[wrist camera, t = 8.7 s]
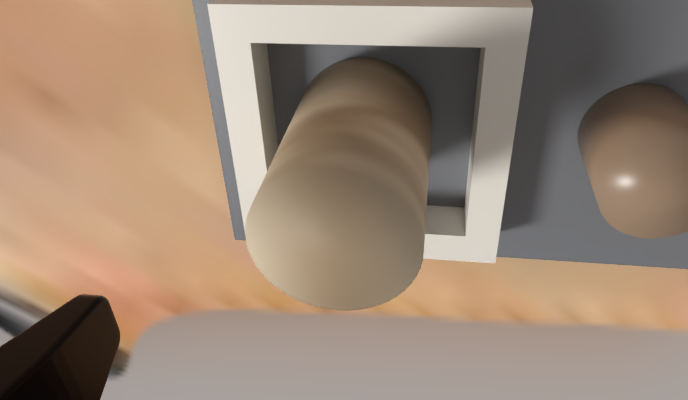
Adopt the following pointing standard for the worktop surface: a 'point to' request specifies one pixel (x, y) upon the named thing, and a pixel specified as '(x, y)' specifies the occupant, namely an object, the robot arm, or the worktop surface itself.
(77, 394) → the robot arm
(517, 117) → the board
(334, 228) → the beige rounded cylinder
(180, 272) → the worktop surface
